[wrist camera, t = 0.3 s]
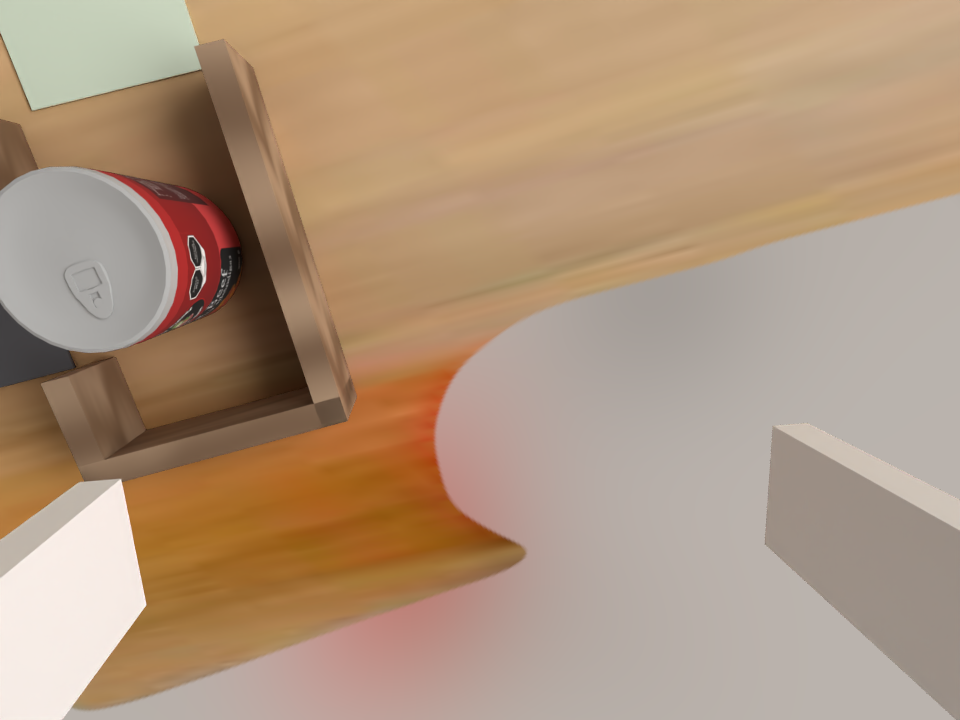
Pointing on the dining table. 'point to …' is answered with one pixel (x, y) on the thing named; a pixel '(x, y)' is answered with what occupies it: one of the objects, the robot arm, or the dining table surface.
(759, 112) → the dining table surface
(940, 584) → the robot arm
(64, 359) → the mat
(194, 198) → the canned food
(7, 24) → the pad
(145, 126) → the dining table surface
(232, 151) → the wooden walled channel
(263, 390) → the dining table surface
